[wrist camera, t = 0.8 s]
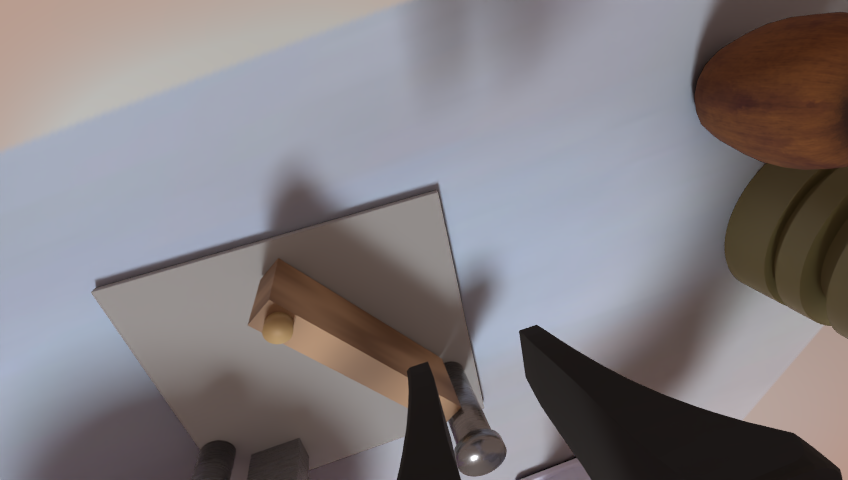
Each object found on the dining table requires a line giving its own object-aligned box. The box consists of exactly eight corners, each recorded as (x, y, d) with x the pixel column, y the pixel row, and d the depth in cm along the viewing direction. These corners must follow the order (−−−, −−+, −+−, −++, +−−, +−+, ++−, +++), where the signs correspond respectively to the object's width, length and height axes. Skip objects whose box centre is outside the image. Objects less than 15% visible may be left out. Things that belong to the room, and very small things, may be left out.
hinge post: (469, 377, 27) (509, 465, 21) (431, 390, 27) (462, 482, 21) (462, 348, 26) (502, 432, 20) (423, 361, 26) (453, 449, 20)
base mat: (482, 403, 29) (484, 408, 28) (233, 491, 27) (232, 497, 26) (436, 190, 22) (438, 192, 21) (95, 288, 20) (91, 292, 19)
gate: (441, 358, 25) (464, 416, 21) (425, 375, 26) (445, 435, 21) (278, 258, 20) (267, 307, 16) (260, 279, 21) (245, 334, 17)
